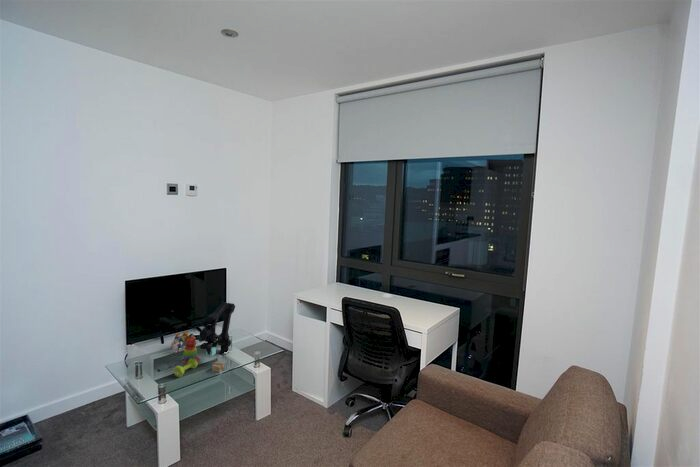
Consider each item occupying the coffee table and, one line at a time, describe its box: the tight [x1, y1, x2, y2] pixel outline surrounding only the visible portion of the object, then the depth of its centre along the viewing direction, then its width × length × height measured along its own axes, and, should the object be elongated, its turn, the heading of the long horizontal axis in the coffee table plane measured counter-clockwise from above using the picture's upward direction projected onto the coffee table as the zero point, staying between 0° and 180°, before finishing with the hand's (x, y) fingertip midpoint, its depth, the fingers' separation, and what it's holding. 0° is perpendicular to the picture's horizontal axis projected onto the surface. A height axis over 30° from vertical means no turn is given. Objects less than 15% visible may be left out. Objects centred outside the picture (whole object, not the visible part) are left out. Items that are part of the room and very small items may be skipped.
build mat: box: [207, 368, 223, 375], centre depth 254 cm, size 10×10×1 cm
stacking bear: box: [183, 337, 201, 365], centre depth 263 cm, size 11×10×18 cm
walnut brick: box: [211, 361, 225, 373], centre depth 253 cm, size 6×6×4 cm
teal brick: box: [205, 346, 217, 357], centre depth 261 cm, size 5×5×4 cm
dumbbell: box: [173, 358, 199, 378], centre depth 249 cm, size 16×8×7 cm, turn 159°
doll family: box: [170, 331, 196, 355], centre depth 281 cm, size 21×10×13 cm, turn 150°
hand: (210, 352), depth 261 cm, fingers closed on teal brick, 5 cm apart
